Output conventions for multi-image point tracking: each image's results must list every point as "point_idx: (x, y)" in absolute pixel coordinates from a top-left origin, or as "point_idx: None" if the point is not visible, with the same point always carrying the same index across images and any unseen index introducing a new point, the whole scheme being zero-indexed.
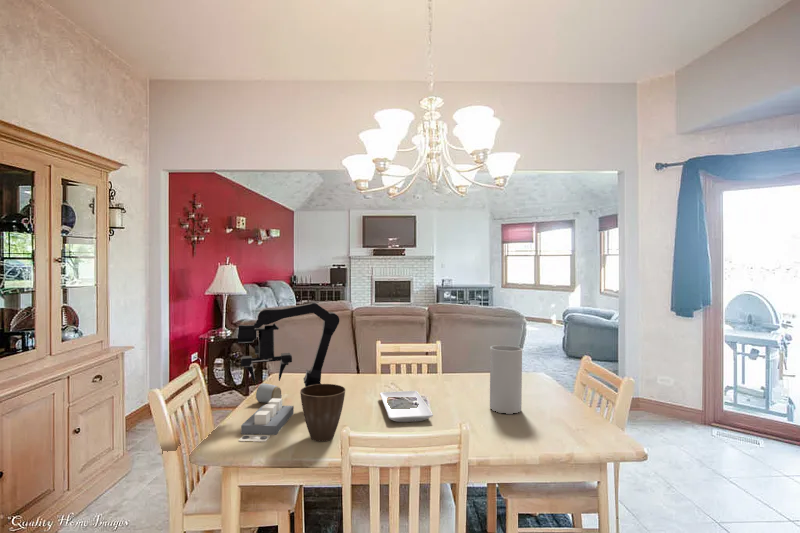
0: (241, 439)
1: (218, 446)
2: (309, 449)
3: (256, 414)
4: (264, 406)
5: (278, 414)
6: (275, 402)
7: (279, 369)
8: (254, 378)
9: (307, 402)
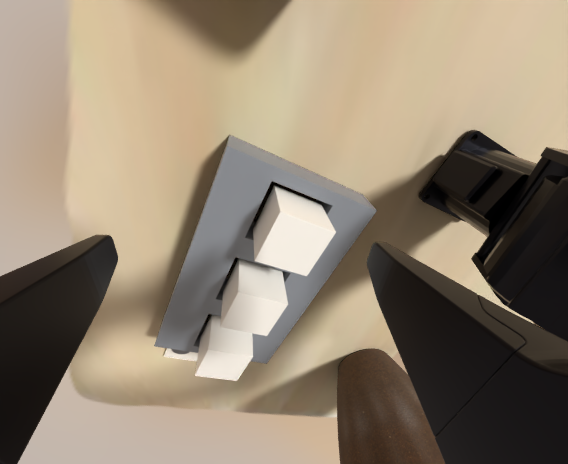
0: (171, 353)
1: (116, 367)
2: (319, 394)
3: (201, 375)
4: (231, 315)
5: (288, 289)
6: (289, 269)
7: (458, 335)
8: (90, 320)
9: None
